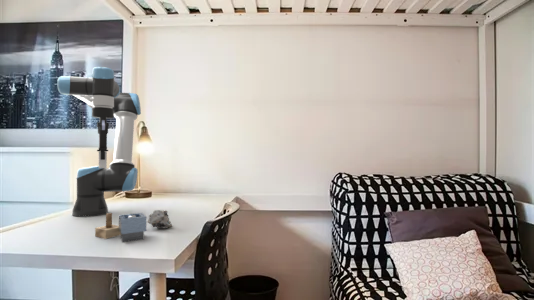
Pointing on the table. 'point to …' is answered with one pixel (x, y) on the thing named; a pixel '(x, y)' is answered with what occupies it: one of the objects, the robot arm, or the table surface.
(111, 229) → the stand
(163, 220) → the mineral specimen
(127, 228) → the collar
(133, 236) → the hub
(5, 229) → the table surface
